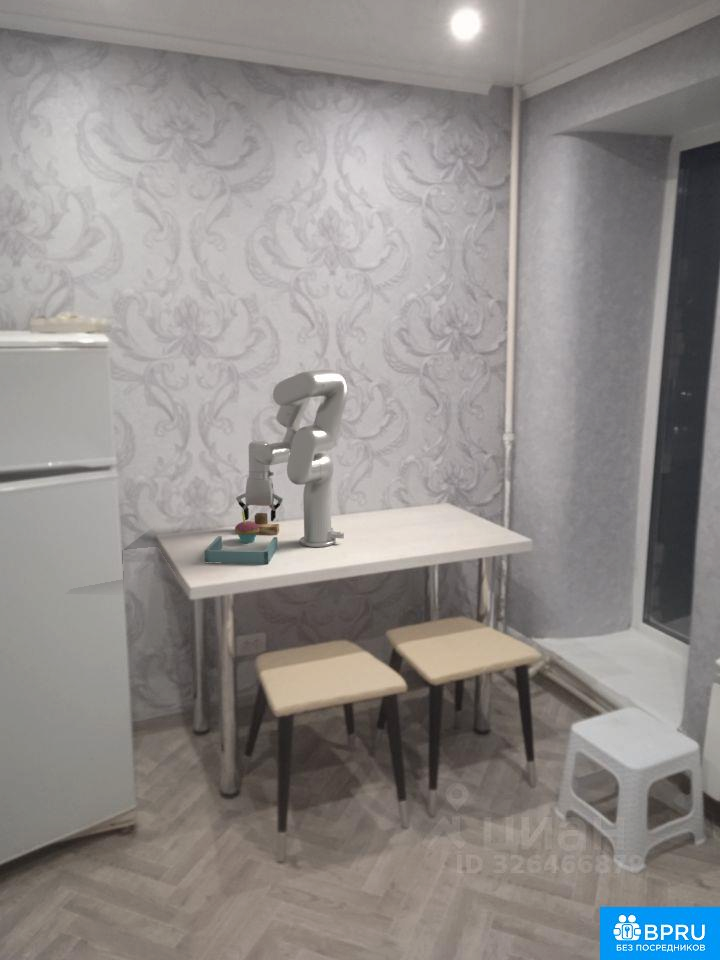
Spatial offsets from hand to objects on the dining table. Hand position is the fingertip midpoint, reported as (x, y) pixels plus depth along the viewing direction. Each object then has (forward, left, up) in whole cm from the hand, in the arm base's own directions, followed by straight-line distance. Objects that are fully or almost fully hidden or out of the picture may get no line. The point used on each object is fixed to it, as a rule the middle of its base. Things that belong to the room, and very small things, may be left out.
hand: (259, 519), depth 271 cm
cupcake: (+1, +15, -4) cm, 16 cm away
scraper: (-1, +2, -4) cm, 5 cm away
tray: (-1, +31, -4) cm, 32 cm away
